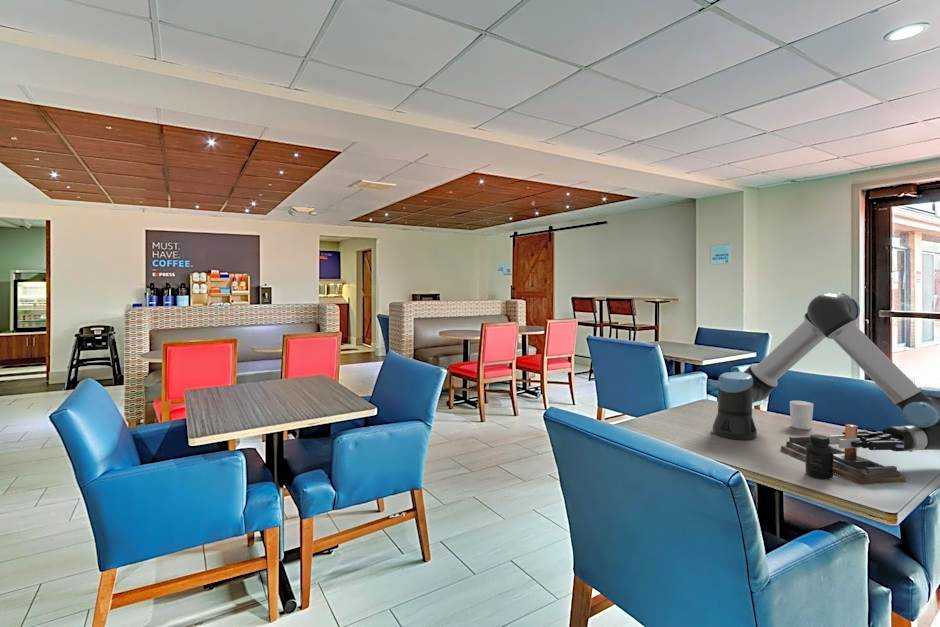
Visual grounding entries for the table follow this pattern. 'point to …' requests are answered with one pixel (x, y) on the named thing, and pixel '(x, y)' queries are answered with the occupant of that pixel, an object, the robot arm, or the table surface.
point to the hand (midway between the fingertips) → (834, 441)
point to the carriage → (852, 451)
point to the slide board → (856, 475)
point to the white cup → (801, 414)
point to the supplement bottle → (819, 457)
